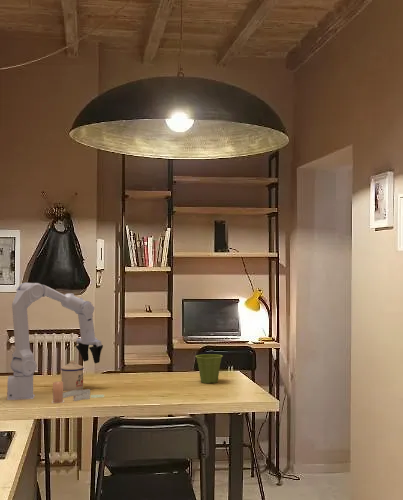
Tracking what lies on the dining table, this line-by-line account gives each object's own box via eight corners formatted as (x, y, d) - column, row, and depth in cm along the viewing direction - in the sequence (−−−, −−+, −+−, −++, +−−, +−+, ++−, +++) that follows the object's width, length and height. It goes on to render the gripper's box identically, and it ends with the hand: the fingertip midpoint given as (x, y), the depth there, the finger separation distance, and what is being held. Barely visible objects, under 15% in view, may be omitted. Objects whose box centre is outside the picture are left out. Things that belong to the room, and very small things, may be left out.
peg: (52, 402, 235) (52, 383, 235) (53, 400, 239) (53, 381, 239) (62, 402, 236) (62, 383, 236) (63, 400, 239) (63, 381, 240)
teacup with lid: (80, 391, 258) (80, 362, 258) (58, 391, 259) (58, 362, 259) (88, 386, 270) (88, 358, 270) (66, 385, 271) (66, 357, 271)
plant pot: (223, 379, 283) (223, 353, 283) (221, 384, 271) (221, 358, 271) (196, 379, 284) (196, 353, 284) (193, 384, 272) (193, 357, 272)
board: (50, 405, 234) (50, 403, 234) (53, 396, 249) (53, 395, 249) (105, 402, 237) (105, 401, 237) (105, 394, 252) (105, 393, 252)
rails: (57, 402, 237) (57, 396, 237) (59, 395, 249) (59, 390, 249) (89, 400, 239) (89, 395, 239) (90, 394, 251) (90, 389, 251)
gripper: (105, 328, 263) (109, 360, 265) (84, 326, 274) (88, 357, 275) (91, 332, 258) (96, 365, 260) (70, 330, 268) (75, 362, 270)
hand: (91, 361), depth 267 cm, fingers open, 7 cm apart
